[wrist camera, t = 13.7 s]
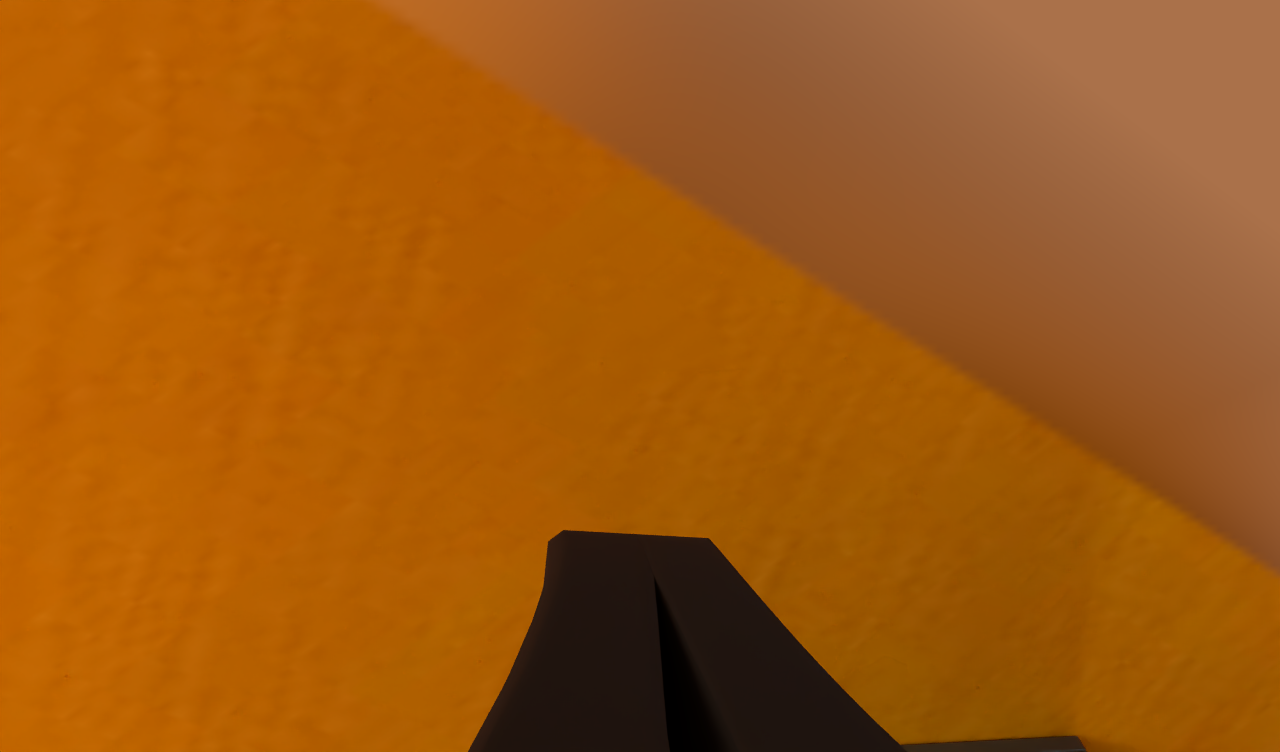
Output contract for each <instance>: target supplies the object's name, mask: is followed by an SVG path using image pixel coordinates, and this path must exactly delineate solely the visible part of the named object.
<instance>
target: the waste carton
mask: <svg viewBox="0 0 1280 752" xmlns="http://www.w3.org/2000/svg"><path fill="white" fill-rule="evenodd" d="M901 746H902V747H903V748H904V749H905V750H906V751H907V752H1087V751H1086V749H1085V747H1084V745H1083V744H1082V742H1081V741H1080V739H1079V738H1078V737H1077V736H1065V737H1046V738H1028V739H1009V740H990V741H971V742H952V743H934V744H915V745H901Z"/></svg>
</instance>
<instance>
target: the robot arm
mask: <svg viewBox="0 0 1280 752" xmlns="http://www.w3.org/2000/svg"><path fill="white" fill-rule="evenodd" d="M468 752H907V751H906V750H905V749H904V748H903V747H902V746H901V745H900V744H899V743H897V742H896V741H895V740H894V739H893V738H892V737H891V736H890V735H889V734H888V733H887V732H886V731H885V730H884V729H883V728H882V727H880V726H879V725H878V724H877V723H876V722H875V721H874V720H873V719H872V718H871V717H870V716H869V715H868V714H867V713H866V712H865V711H864V710H863V709H862V708H861V707H860V706H859V705H858V704H857V703H856V702H855V701H854V700H853V699H852V698H851V697H850V696H849V695H848V694H847V693H846V692H845V691H844V690H843V689H842V688H841V687H840V686H839V685H838V683H837V682H836V681H835V680H834V679H833V678H832V677H831V676H830V675H829V674H828V673H827V672H826V671H825V670H824V669H823V668H822V667H821V666H820V664H819V663H818V662H817V661H816V660H815V659H814V658H813V657H812V656H811V655H810V654H809V653H808V651H807V650H806V649H805V648H804V647H803V646H802V645H801V644H800V643H799V642H798V640H797V639H796V638H795V637H794V636H793V635H792V634H791V633H790V632H789V630H788V629H787V628H786V627H785V626H784V625H783V624H782V623H781V621H780V620H779V619H778V618H777V617H776V616H775V615H774V613H773V612H772V611H771V610H770V609H769V608H768V607H767V605H766V604H765V603H764V602H763V601H762V600H761V598H760V597H759V596H758V595H757V594H756V593H755V591H754V590H753V589H752V588H751V587H750V586H749V584H748V583H747V582H746V581H745V580H744V579H743V577H742V576H741V575H740V574H739V573H738V571H737V570H736V569H735V568H734V567H733V566H732V564H731V563H730V562H729V561H728V560H727V559H726V557H725V556H724V555H723V554H722V553H721V552H720V550H719V549H718V548H717V547H716V546H715V545H714V544H713V542H712V541H711V540H710V539H709V538H693V537H676V536H658V535H640V534H622V533H604V532H586V531H568V530H563V531H562V532H560V533H559V534H558V535H556V536H555V537H554V538H552V539H551V540H550V541H548V548H547V558H546V567H545V577H544V586H543V590H542V593H541V596H540V599H539V602H538V605H537V608H536V611H535V614H534V617H533V620H532V623H531V625H530V627H529V630H528V632H527V634H526V637H525V639H524V641H523V644H522V646H521V648H520V651H519V653H518V655H517V658H516V660H515V662H514V665H513V667H512V669H511V672H510V674H509V676H508V678H507V680H506V682H505V684H504V686H503V688H502V690H501V692H500V694H499V696H498V697H497V699H496V701H495V703H494V705H493V707H492V709H491V710H490V712H489V714H488V716H487V718H486V720H485V721H484V723H483V725H482V727H481V729H480V731H479V732H478V734H477V736H476V738H475V740H474V742H473V743H472V745H471V747H470V749H469V751H468Z"/></svg>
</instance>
